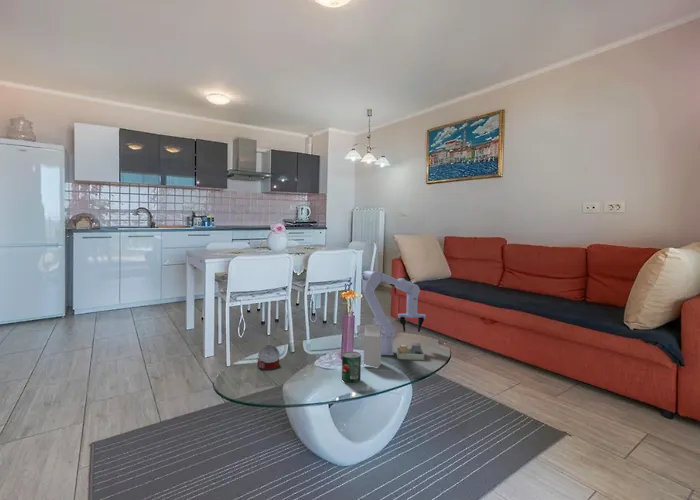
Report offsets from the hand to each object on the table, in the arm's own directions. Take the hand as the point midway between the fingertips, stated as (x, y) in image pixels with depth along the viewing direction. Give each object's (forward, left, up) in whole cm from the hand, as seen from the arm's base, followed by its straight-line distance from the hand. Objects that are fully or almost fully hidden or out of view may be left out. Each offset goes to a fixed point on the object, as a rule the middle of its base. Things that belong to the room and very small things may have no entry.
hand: (411, 331), depth 196 cm
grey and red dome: (-69, -30, -10) cm, 76 cm away
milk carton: (-21, -27, -10) cm, 36 cm away
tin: (+1, -12, -10) cm, 16 cm away
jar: (-5, -12, -10) cm, 16 cm away
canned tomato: (-30, -45, -10) cm, 55 cm away
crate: (-2, -12, -10) cm, 16 cm away
